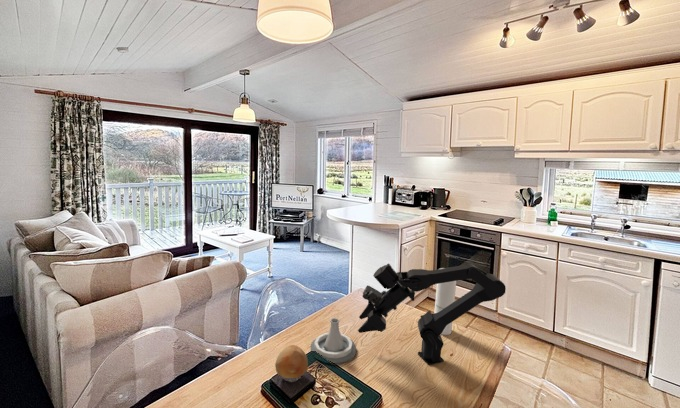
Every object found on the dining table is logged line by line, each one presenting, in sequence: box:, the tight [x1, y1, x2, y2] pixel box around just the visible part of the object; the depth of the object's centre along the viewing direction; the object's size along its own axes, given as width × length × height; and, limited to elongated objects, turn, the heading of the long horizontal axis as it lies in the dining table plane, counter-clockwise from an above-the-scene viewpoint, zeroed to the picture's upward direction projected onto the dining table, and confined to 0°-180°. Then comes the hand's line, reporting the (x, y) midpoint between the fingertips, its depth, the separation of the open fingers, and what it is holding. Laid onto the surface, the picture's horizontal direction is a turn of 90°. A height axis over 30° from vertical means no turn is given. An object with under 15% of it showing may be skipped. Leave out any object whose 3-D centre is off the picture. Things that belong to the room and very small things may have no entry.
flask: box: [323, 317, 344, 352], centre depth 109 cm, size 7×7×10 cm
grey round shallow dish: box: [310, 332, 357, 365], centre depth 109 cm, size 16×16×3 cm
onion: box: [274, 344, 309, 378], centre depth 94 cm, size 10×10×10 cm
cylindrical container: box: [433, 267, 457, 336], centre depth 124 cm, size 7×7×25 cm
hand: (359, 324), depth 109 cm, fingers open, 9 cm apart
